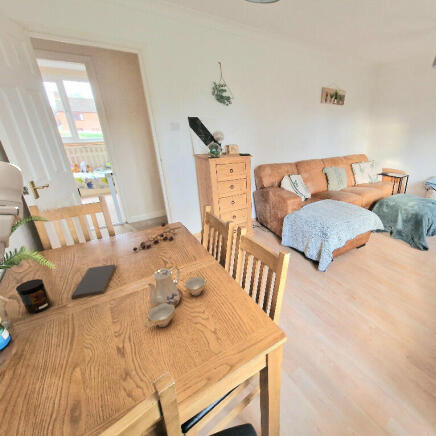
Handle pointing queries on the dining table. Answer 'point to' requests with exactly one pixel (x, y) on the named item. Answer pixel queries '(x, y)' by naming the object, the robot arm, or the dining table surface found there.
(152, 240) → the decorative branch
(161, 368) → the dining table surface
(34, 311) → the supplement container
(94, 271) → the slate plate
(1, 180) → the robot arm
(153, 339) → the dining table surface
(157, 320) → the chinaware
